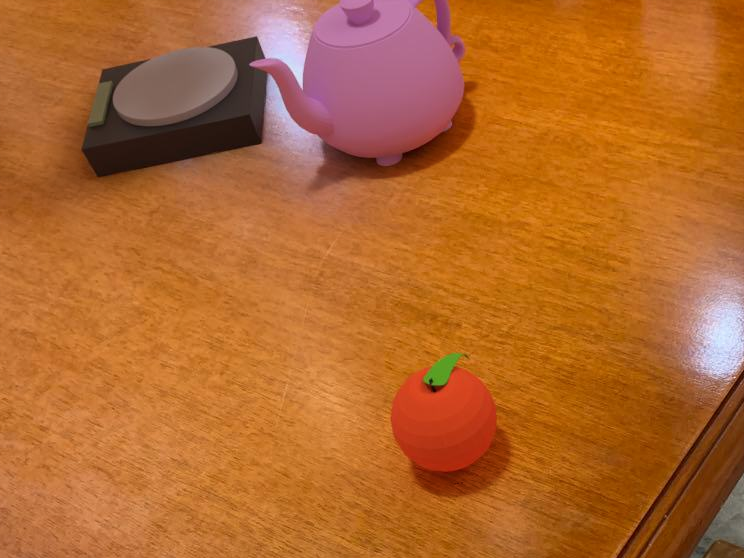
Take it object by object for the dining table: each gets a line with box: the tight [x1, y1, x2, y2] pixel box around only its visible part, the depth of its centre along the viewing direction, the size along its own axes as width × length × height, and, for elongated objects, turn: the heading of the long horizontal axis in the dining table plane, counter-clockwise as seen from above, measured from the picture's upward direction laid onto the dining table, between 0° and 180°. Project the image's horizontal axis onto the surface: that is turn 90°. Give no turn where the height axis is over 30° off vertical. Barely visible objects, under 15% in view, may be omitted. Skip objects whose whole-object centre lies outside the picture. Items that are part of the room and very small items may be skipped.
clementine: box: [390, 352, 498, 472], centre depth 67 cm, size 8×7×7 cm
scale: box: [80, 35, 268, 178], centre depth 99 cm, size 16×14×4 cm
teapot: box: [249, 0, 466, 167], centre depth 89 cm, size 20×14×12 cm
